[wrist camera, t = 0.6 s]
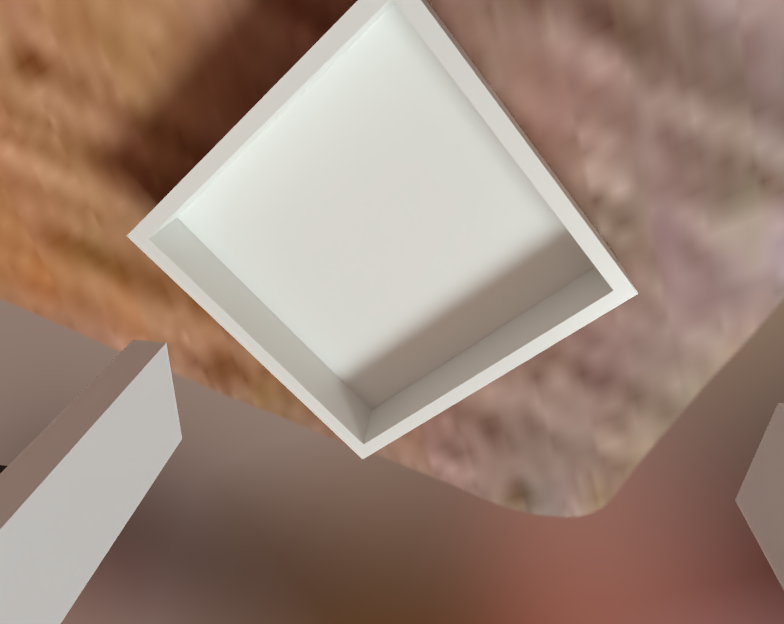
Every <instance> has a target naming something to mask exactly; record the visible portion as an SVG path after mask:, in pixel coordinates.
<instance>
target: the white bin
mask: <svg viewBox="0 0 784 624" xmlns="http://www.w3.org/2000/svg"><path fill="white" fill-rule="evenodd" d="M127 237H128V238H129V239H130V240H131V241H133V242H134V243H135V244H136V245H137V246H138V247H139V248H140V249H141V250H142V251H143V252H144V253H145V254H146V255H147V256H148V257H149V258H150V259H152V260H153V261H154V262H155V263H156V264H157V265H158V266H159V267H160V268H161V269H162V270H163V271H164V272H165V273H166V274H167V275H168V276H169V277H171V278H172V279H173V280H174V281H175V282H176V283H177V284H178V285H179V286H180V287H181V288H182V289H183V290H184V291H185V292H186V293H187V294H189V295H190V296H191V297H192V298H193V299H194V300H195V301H196V302H197V303H198V304H199V305H200V306H201V307H202V308H203V309H204V310H205V311H206V312H208V313H209V314H210V315H211V316H212V317H213V318H214V319H215V320H216V321H217V322H218V323H219V324H220V325H221V326H222V327H223V328H224V329H225V330H227V331H228V332H229V333H230V334H231V335H232V336H233V337H234V338H235V339H236V340H237V341H238V342H239V343H240V344H241V345H242V346H243V347H244V348H246V349H247V350H248V351H249V352H250V353H251V354H252V355H253V356H254V357H255V358H256V359H257V360H258V361H259V362H260V363H261V364H262V365H264V366H265V367H266V368H267V369H268V370H269V371H270V372H271V373H272V374H273V375H274V376H275V377H276V378H277V379H278V380H279V381H280V382H281V383H283V384H284V385H285V386H286V387H287V388H288V389H289V390H290V391H291V392H292V393H293V394H294V395H295V396H296V397H297V398H298V399H299V400H300V401H302V402H303V403H304V404H305V405H306V406H307V407H308V408H309V409H310V410H311V411H312V412H313V413H314V414H315V415H316V416H317V417H318V418H319V419H321V420H322V421H323V422H324V423H325V424H326V425H327V426H328V427H329V428H330V429H331V430H332V431H333V432H334V433H335V434H336V435H337V436H339V437H340V438H341V439H342V440H343V441H344V442H345V443H346V444H347V445H348V446H349V447H350V448H351V449H352V450H353V451H354V452H355V453H356V454H358V455H359V456H360V457H361V458H362V459H364V458H366V457H367V456H369V455H371V454H372V453H374V452H376V451H377V450H379V449H381V448H382V447H384V446H386V445H387V444H389V443H391V442H392V441H394V440H396V439H397V438H399V437H401V436H402V435H404V434H406V433H407V432H409V431H411V430H412V429H414V428H416V427H417V426H419V425H421V424H422V423H424V422H426V421H427V420H429V419H431V418H432V417H434V416H436V415H437V414H439V413H440V412H442V411H444V410H445V409H447V408H449V407H450V406H452V405H454V404H455V403H457V402H459V401H460V400H462V399H464V398H465V397H467V396H469V395H470V394H472V393H474V392H475V391H477V390H479V389H480V388H482V387H484V386H485V385H487V384H489V383H490V382H492V381H494V380H495V379H497V378H499V377H500V376H502V375H504V374H505V373H507V372H509V371H510V370H512V369H514V368H515V367H517V366H519V365H520V364H522V363H524V362H525V361H527V360H529V359H530V358H532V357H534V356H535V355H537V354H539V353H540V352H542V351H544V350H545V349H547V348H549V347H550V346H552V345H554V344H555V343H557V342H558V341H560V340H562V339H563V338H565V337H567V336H568V335H570V334H572V333H573V332H575V331H577V330H578V329H580V328H582V327H583V326H585V325H587V324H588V323H590V322H592V321H593V320H595V319H597V318H598V317H600V316H602V315H603V314H605V313H607V312H608V311H610V310H612V309H613V308H615V307H617V306H618V305H620V304H622V303H623V302H625V301H627V300H628V299H630V298H632V297H633V296H635V295H637V294H638V292H637V291H636V289H635V287H634V286H633V284H632V282H631V281H630V279H629V277H628V275H627V274H626V272H625V270H624V269H623V267H622V265H621V264H620V262H619V260H618V259H617V258H616V256H615V255H614V253H613V252H612V251H611V249H610V248H609V247H608V245H607V244H606V243H605V241H604V240H603V239H602V237H601V236H600V235H599V233H598V232H597V230H596V229H595V228H594V226H593V225H592V224H591V222H590V221H589V220H588V218H587V217H586V216H585V214H584V213H583V211H582V210H581V209H580V207H579V206H578V205H577V203H576V202H575V201H574V199H573V198H572V197H571V195H570V194H569V192H568V191H567V190H566V188H565V187H564V186H563V184H562V183H561V182H560V180H559V179H558V178H557V176H556V175H555V173H554V172H553V171H552V169H551V168H550V167H549V165H548V164H547V163H546V161H545V160H544V159H543V157H542V156H541V154H540V153H539V152H538V150H537V149H536V148H535V146H534V145H533V144H532V142H531V141H530V140H529V138H528V137H527V135H526V134H525V133H524V131H523V130H522V129H521V127H520V126H519V125H518V123H517V122H516V121H515V119H514V118H513V116H512V115H511V114H510V112H509V111H508V110H507V108H506V107H505V106H504V104H503V103H502V102H501V100H500V99H499V98H498V96H497V95H496V93H495V92H494V91H493V89H492V88H491V87H490V85H489V84H488V83H487V81H486V80H485V79H484V77H483V76H482V74H481V73H480V72H479V70H478V69H477V68H476V66H475V65H474V64H473V62H472V61H471V60H470V58H469V57H468V55H467V54H466V53H465V51H464V50H463V49H462V47H461V46H460V45H459V43H458V42H457V41H456V39H455V38H454V36H453V35H452V34H451V32H450V31H449V30H448V28H447V27H446V26H445V24H444V23H443V22H442V20H441V19H440V17H439V16H438V15H437V13H436V12H435V11H434V9H433V8H432V7H431V5H430V4H429V3H428V1H427V0H358V1H357V2H356V3H355V4H354V5H353V6H352V7H351V8H350V9H349V10H348V11H347V12H346V13H345V14H344V15H343V16H342V17H341V18H340V19H339V20H338V21H337V22H336V23H335V24H334V25H333V26H332V27H331V28H330V29H329V30H328V31H327V32H326V33H325V34H324V35H323V36H322V37H321V38H320V39H319V40H318V41H317V42H316V43H315V44H314V45H313V46H312V47H311V49H310V50H309V51H308V52H307V53H306V54H305V55H304V56H303V57H302V58H301V59H300V60H299V61H298V62H297V63H296V64H295V65H294V66H293V67H292V68H291V69H290V70H289V71H288V72H287V73H286V74H285V75H284V76H283V77H282V78H281V79H280V80H279V81H278V82H277V83H276V84H275V85H274V86H273V87H272V88H271V89H270V90H269V91H268V92H267V93H266V94H265V95H264V96H263V97H262V99H261V100H260V101H259V102H258V103H257V104H256V105H255V106H254V107H253V108H252V109H251V110H250V111H249V112H248V113H247V114H246V115H245V116H244V117H243V118H242V119H241V120H240V121H239V122H238V123H237V124H236V125H235V126H234V127H233V128H232V129H231V130H230V131H229V132H228V133H227V134H226V135H225V136H224V137H223V138H222V139H221V140H220V141H219V142H218V143H217V144H216V145H215V146H214V147H213V148H212V150H211V151H210V152H209V153H208V154H207V155H206V156H205V157H204V158H203V159H202V160H201V161H200V162H199V163H198V164H197V165H196V166H195V167H194V168H193V169H192V170H191V171H190V172H189V173H188V174H187V175H186V176H185V177H184V178H183V179H182V180H181V181H180V182H179V183H178V184H177V185H176V186H175V187H174V188H173V189H172V190H171V191H170V192H169V193H168V194H167V195H166V196H165V197H164V198H163V200H162V201H161V202H160V203H159V204H158V205H157V206H156V207H155V208H154V209H153V210H152V211H151V212H150V213H149V214H148V215H147V216H146V217H145V218H144V219H143V220H142V221H141V222H140V223H139V224H138V225H137V226H136V227H135V228H134V229H133V230H132V231H131V232H130V233H129V234H128V235H127Z"/></svg>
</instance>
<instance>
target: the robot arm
mask: <svg viewBox="0 0 784 624" xmlns="http://www.w3.org/2000/svg"><path fill="white" fill-rule="evenodd" d="M181 439H182V435H181V429H180V423H179V417H178V411H177V405H176V399H175V393H174V387H173V381H172V375H171V369H170V363H169V357H168V351H167V345H166V343H162V342H152V341H141V340H133V341H132V342H131V343H130V344H129V345H128V346H127V347H126V348H125V349H124V350H123V351H122V352H121V353H120V354H119V355H118V356H117V357H116V358H115V359H114V360H113V361H112V362H111V363H110V364H109V365H108V366H107V367H106V368H105V369H104V370H103V371H102V372H101V373H100V374H99V375H98V376H97V377H96V378H95V379H94V380H93V381H92V382H91V383H90V384H89V385H88V386H87V387H86V388H85V389H84V390H83V391H82V392H81V393H80V394H79V395H78V396H77V397H76V398H75V399H74V400H73V401H72V402H71V403H70V404H69V405H68V406H67V407H66V408H65V409H64V410H63V411H62V412H61V413H60V414H59V415H58V416H57V417H56V418H55V419H54V420H53V421H52V422H51V423H50V424H49V425H48V426H47V427H46V428H45V429H44V430H43V431H42V432H41V433H40V434H39V435H38V436H37V437H36V438H35V439H34V440H33V441H32V442H31V443H30V444H29V445H28V446H27V447H26V448H25V449H24V450H23V451H22V452H21V453H20V454H19V455H18V456H17V457H16V459H14V460H13V461H12V462H11V463H10V464H9V465H8V466H2V465H0V624H60V623H61V622H62V620H63V619H64V617H65V616H66V614H67V613H68V611H69V610H70V608H71V607H72V605H73V604H74V602H75V601H76V599H77V598H78V596H79V595H80V593H81V592H82V590H83V588H84V587H85V585H86V584H87V582H88V581H89V579H90V578H91V576H92V574H93V573H94V572H95V570H96V569H97V567H98V566H99V564H100V563H101V561H102V559H103V558H104V557H105V555H106V553H107V552H108V550H109V549H110V547H111V546H112V544H113V543H114V541H115V540H116V538H117V537H118V535H119V533H120V532H121V531H122V529H123V528H124V526H125V525H126V523H127V521H128V520H129V518H130V517H131V515H132V514H133V512H134V511H135V509H136V508H137V506H138V505H139V503H140V502H141V500H142V499H143V497H144V496H145V494H146V493H147V491H148V489H149V488H150V487H151V485H152V483H153V482H154V480H155V479H156V477H157V476H158V474H159V473H160V471H161V470H162V468H163V466H164V465H165V464H166V462H167V461H168V459H169V458H170V456H171V454H172V453H173V452H174V450H175V448H176V447H177V445H178V444H179V442H180V441H181ZM736 502H737V504H738V506H739V508H740V510H741V512H742V514H743V515H744V517H745V519H746V521H747V523H748V525H749V527H750V528H751V530H752V532H753V534H754V536H755V538H756V539H757V541H758V543H759V545H760V547H761V549H762V551H763V553H764V554H765V556H766V558H767V560H768V562H769V563H770V565H771V567H772V569H773V571H774V573H775V575H776V577H777V578H778V580H779V582H780V584H781V586H782V588H783V589H784V404H782V403H778V405H777V407H776V409H775V411H774V414H773V416H772V418H771V420H770V423H769V425H768V428H767V430H766V432H765V434H764V436H763V439H762V441H761V443H760V445H759V448H758V450H757V452H756V454H755V457H754V459H753V461H752V464H751V466H750V468H749V470H748V473H747V475H746V477H745V479H744V482H743V484H742V486H741V488H740V491H739V493H738V495H737V497H736Z"/></svg>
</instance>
